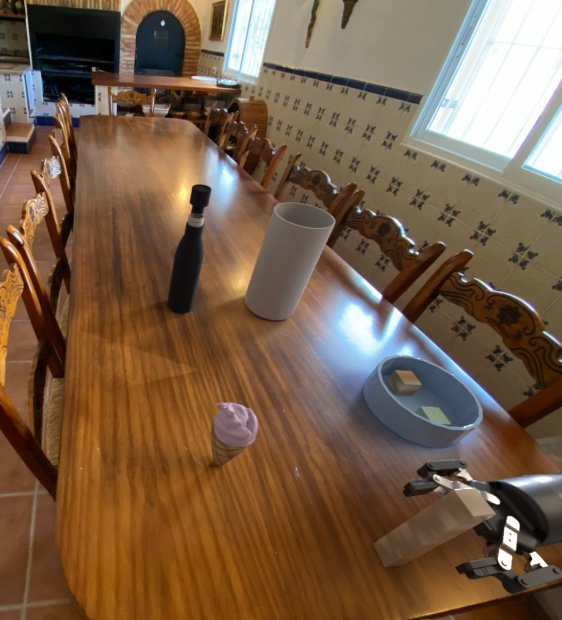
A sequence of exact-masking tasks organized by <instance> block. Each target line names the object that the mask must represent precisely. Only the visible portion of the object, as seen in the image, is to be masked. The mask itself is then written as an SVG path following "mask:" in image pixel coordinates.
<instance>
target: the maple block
mask: <svg viewBox="0 0 562 620" xmlns="http://www.w3.org/2000/svg"><path fill="white" fill-rule="evenodd" d="M387 383H388V384H389V386H390V388H391V389H392V391H393V392H394V394H395V395H408V396H412V395H413V394H414V393H415V392H416V391H417V390H418V389H419V388H420V387H421V386H422V384H421V383H420V381H419V380H418V379H417V377H416V376H415V375H414V373H413V372H412V371H401V370H395V371H394V372H393V373H392V375H391V376H390V377H389V378H388V380H387Z"/></svg>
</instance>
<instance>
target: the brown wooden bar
mask: <svg viewBox="0 0 562 620" xmlns="http://www.w3.org/2000/svg"><path fill="white" fill-rule="evenodd" d="M495 515H496V513H495V512H494V511H493V509H492V508H491V507H490V506H489V504H488V503H487V502H486V501H485V499H484V498H483V497H482V496H481V494H480V493H479V492H478V491H477V489H476V488H464V489H453V490H452V491H450V492H449V493H447V494H446V495H444V496H443V497H440V498H438V499H437V500H436V501H434V502H433V503H431V504H430V505H428V506H426V507H425V508H424V509H422V510H421V511H419V512H418V513H416V514H415V515H413V516H411V517H410V518H409V519H407V520H406V521H404V522H402V523H401V524H400V525H398V526H397V527H395V528H394V529H392V530H391V531H390V532H388V533H386V534H385V535H384V536H382V537H381V538H380V539H378V540H377V541H375V542H373V543H372V546H373V548H374V550H375V551H376V554H377V555H378V558H379V559H380V561H381V563H382V565H383V567H384V568H389V567H390V568H391V567H400V566H404V565H405V564H407V563H410V562H411V561H413V560H415V559H417V558H419V557H421V556H422V555H425V554H426V553H428V552H430V551H431V550H433V549H435V548H437V547H439V546H441V545H443V544H445V543H446V542H448V541H450V540H452V539H454V538H456V537H457V536H460V535H461V534H464V533H466V532H467V531H468V530H470V529H473V528H472V527H474V526H476V525H478V524H480V523H482V522H483V521H485V520H487V519H489V518H491V517H493V516H495Z"/></svg>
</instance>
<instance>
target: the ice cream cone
mask: <svg viewBox="0 0 562 620" xmlns="http://www.w3.org/2000/svg"><path fill="white" fill-rule="evenodd" d="M215 405H216V407H219V411H218V412H217V414H216V415H215V416H214V417H213V418H212V420H211V425H210V426H211V427H210V430H211V431H210V442H211V443H210V444H211V455H212V463H213V465H214V467H216V468H220V467H222V466H224V465H226V464H227V463H229V462H230V461H232V460H234V459H235V458H236V457H238V456H239V455H240V454H241V453H243V452H244V451H245V450H246V449H247V448H248V447H249V446H252V445H253V443H254V442H255V440H256V436H257V434H258V431H259V424H258V417H257V416H256V414H255V413H254V412H253V410H252V409H251V408H250V407H245V405H242V404H240V403H236V402H216V404H215Z"/></svg>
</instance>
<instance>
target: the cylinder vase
mask: <svg viewBox="0 0 562 620" xmlns="http://www.w3.org/2000/svg"><path fill="white" fill-rule="evenodd" d="M335 225H336V218H335V217H334V216H333V215H332V214H331V213H330V212H328V211H326V210H324V209H322V208H320V207H317V206H314V205H310V204H307V203H301V202H296V201H295V202H294V201H293V202H292V201H291V202H290V201H289V202H280V203H278V204H276V205H275V206H274V207H273V210H272V213H271V216H270V219H269V222H268V224H267V228H266V231H265V235H264V237H263V240H262V243H261V246H260V248H259V252H258V255H257V259H256V261H255V264H254V267H253V270H252V273H251V276H250V279H249V283H248V285H247V288H246V291H245V293H244V299H243V301H244V303H245V305H246V308H247V309H248V310H250V312H252V313H253V314H254V315H256V316H258V317H260V318H263V319H265V320H270V321H284V320H287V319H289V318H291V317H292V316H293V315H294V313H295V311H296V309H297V307H298V305H299V303H300V301H301V299H302V296H303V294H304V292H305V290H306V287H307V286H308V283H309V281H310V279H311V277H312V275H313V272H314V270H315V268H316V266H317V264H318V261H319V259H320V257H321V255H322V253H323V251H324V248H325V246H326V244H327V243H328V240H329V238H330V236H331V234H332V232H333V229H334V227H335Z"/></svg>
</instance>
